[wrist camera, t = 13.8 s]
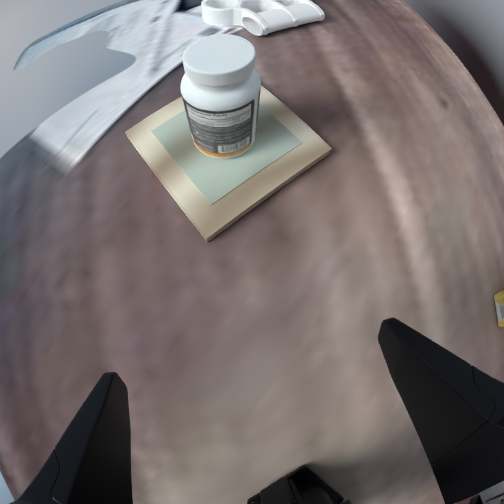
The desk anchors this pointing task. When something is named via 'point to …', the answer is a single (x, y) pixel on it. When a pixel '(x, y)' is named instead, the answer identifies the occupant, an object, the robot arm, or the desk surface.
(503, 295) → the candy box
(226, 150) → the pill bottle
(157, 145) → the rest board
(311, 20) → the white egg tray
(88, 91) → the desk surface
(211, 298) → the desk surface
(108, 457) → the robot arm
